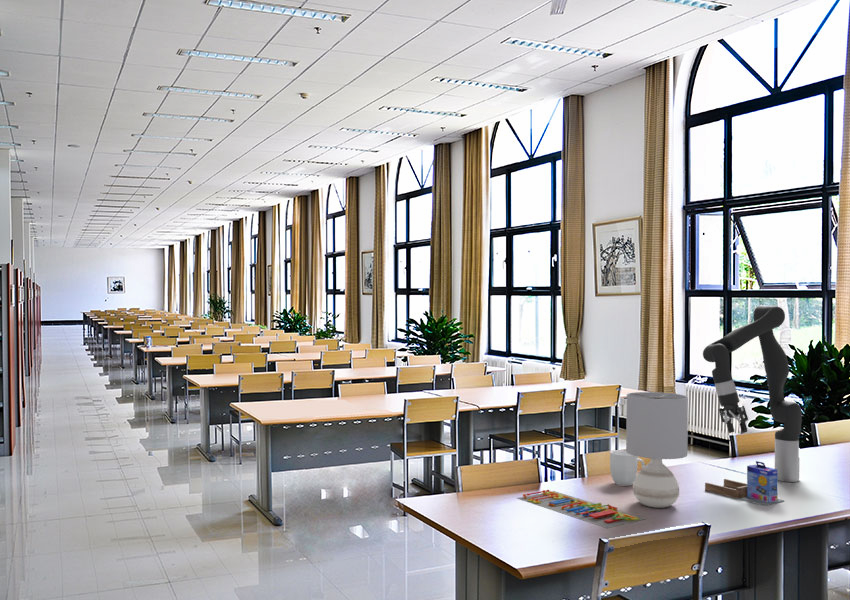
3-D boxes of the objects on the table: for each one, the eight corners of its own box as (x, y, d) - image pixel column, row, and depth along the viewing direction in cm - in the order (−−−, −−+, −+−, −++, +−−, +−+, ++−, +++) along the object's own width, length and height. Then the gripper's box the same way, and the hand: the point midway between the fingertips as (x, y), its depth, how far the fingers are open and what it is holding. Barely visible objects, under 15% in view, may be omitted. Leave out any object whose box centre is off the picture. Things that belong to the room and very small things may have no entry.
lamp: (644, 494, 298) (645, 390, 298) (697, 505, 282) (698, 396, 282) (614, 504, 282) (615, 395, 282) (668, 516, 267) (669, 401, 267)
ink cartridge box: (745, 497, 293) (746, 459, 293) (755, 495, 296) (755, 458, 296) (768, 503, 284) (769, 464, 284) (778, 501, 287) (778, 463, 287)
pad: (760, 495, 297) (760, 494, 297) (784, 501, 289) (784, 500, 289) (741, 499, 291) (741, 498, 291) (765, 505, 282) (765, 504, 282)
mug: (637, 480, 321) (638, 449, 321) (651, 486, 310) (651, 454, 310) (605, 481, 318) (605, 450, 318) (617, 488, 307) (617, 455, 307)
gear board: (645, 513, 264) (606, 522, 253) (645, 520, 264) (606, 530, 253) (553, 486, 301) (516, 493, 290) (553, 492, 301) (516, 499, 290)
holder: (725, 486, 312) (725, 476, 312) (758, 494, 299) (758, 484, 299) (705, 490, 305) (705, 480, 305) (738, 498, 292) (738, 488, 292)
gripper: (745, 389, 303) (757, 429, 301) (724, 391, 316) (735, 430, 315) (729, 393, 301) (741, 434, 299) (708, 395, 315) (719, 434, 313)
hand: (738, 432), depth 307 cm, fingers open, 8 cm apart
